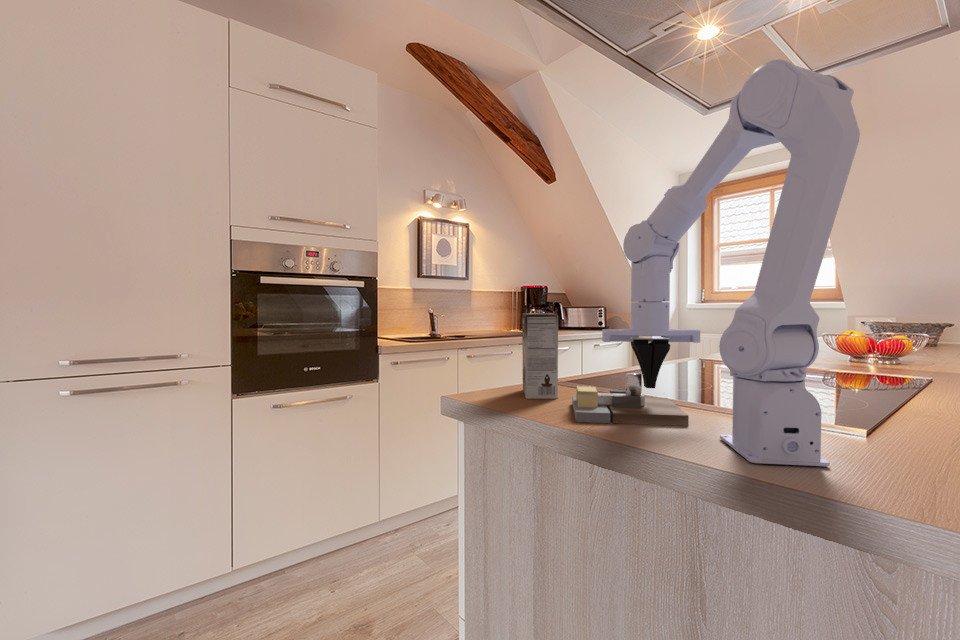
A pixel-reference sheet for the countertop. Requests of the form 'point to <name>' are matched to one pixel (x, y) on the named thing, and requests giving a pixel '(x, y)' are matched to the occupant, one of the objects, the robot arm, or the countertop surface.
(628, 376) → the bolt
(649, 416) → the door panel
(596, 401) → the jamb keeper
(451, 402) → the countertop surface
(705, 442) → the countertop surface
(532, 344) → the coffee box
